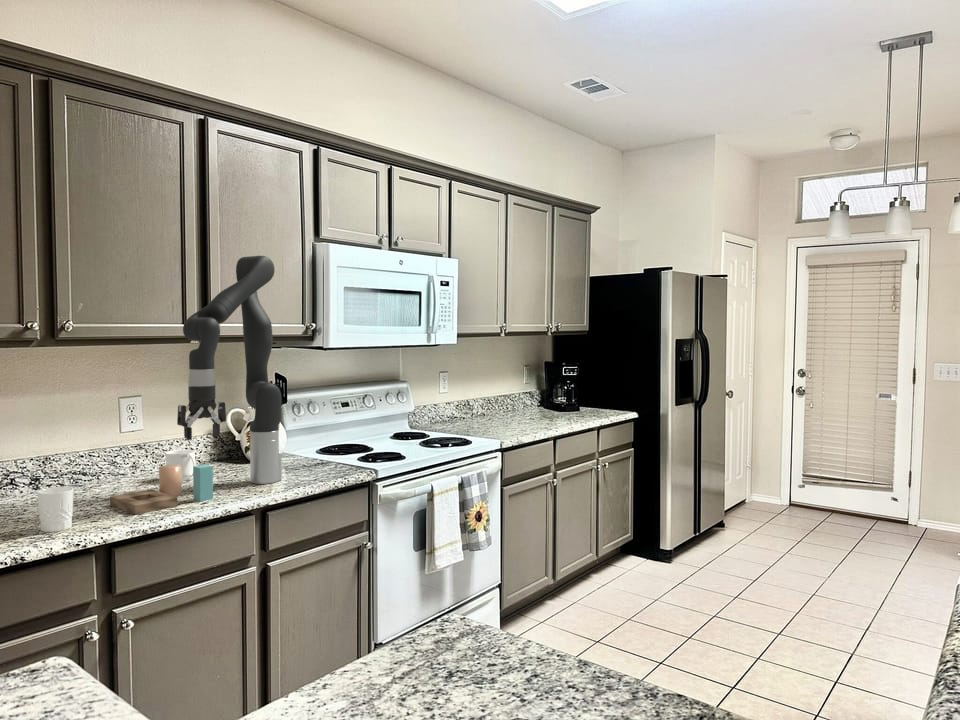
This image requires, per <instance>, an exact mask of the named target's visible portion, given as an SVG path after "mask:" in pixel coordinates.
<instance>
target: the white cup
mask: <svg viewBox="0 0 960 720" xmlns="http://www.w3.org/2000/svg"><path fill="white" fill-rule="evenodd" d="M36 493H37V506H38V516H39V521H40V531H41V532H43V533H55V532H62V531H66V530H70V529H71V528H72V526H73V512H74V487H72V486H55V487H54V486H53V487H47V488H42V489H39V490H37V492H36Z"/></svg>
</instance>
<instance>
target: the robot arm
mask: <svg viewBox="0 0 960 720" xmlns="http://www.w3.org/2000/svg"><path fill="white" fill-rule="evenodd" d="M235 265H236V266H235V274H236V282H235V283H233V284H231V285H230V286H228V287H226V288H225V289H223V290H221V291H220V292H219V293H218V294H217V295H216V296H215V297H214V298H213V299H212V300H211V301H210V302H209V303H208V304H207V305H206V306H204V307H202V308H201V309H199V310H198V311H196V312H195V313H193V314H192V315H190V316H189V317H187V319H186V321H184V324H183V326H182V327H183V328H182V333H183V336H184V337H185V338H186V339H188V340H189V341H192V342H193V341H194V342H199V345H198V347H197V348H195V349H192V350H190V352H189V353H188V354H189V355H188V377H187V379H188V381H187V385H188V392H187V395H188V396H187V397H188V405H185V404H178V406H177V421H176V424H177V426H180V427H183V435H184V438H185V440H186V441H192V440H193V431H192V430H193V427H192V426H193V424H194V422H196V421H197V419H198V420H199V419H204V418H205V419H210V421H211V422H212V437H215V438H216V437H219V436H220V434H221V424H222V423H225V422H226V421H227V412H226V411H227V410H226V403H225V402H224V401H218V402H216V373H215V356H216V355H215V354H216V351H217V348H218V344H219V340H220V337H221V336H220V335H221V328H220V324H223V323H224V322H226V321H227V320H228V319H229V318H230V317H231V315H232V314H233V313H234V312H235V311H236V310H237V309H238V308H239V307H240V306H241V317H242V332H243V334H242V335H243V345H244V346H243V347H244V355H245V356H244V358H245V359H244V360H245V368H246V370H245V371H246V373H245V374H246V375H245V377H246V379H245V400H246V402H247V404H248V406H249V407H251V408H252V409H254V411H255V412H254V419H253V420H252V421H251V422H250V424H249V447H250V448H249V452H250V453H249V457H250V458H249V461H250V462H249V464H250V470H249V472H250V473H249V474H250V483H251V484H258V485H265V484H275V483H277V482H279V481H282V478H283V477H282V474H283V473H282V452H281V451H280V440H279V435H280V434H279V430H280V424H281V421H282V393H281V389H280V388H279V387H278V386H277V385H276V384H273V383H269V376H268V365H269V359H270V356H271V353H272V348H273V342H274V339H273V326H272V325H273V324H272V321H271V319H270V317H269V315H268V314H267V311H265V309H264V308H263V306H262V304H261V301H260V299H259V297H258V291H259V289H261V288H262V287H264V286H265V285H266V284H268V283H269V282H270V281H271V280H272V279H273V278H274V275H275V264H274V262H273V260H272V259H271V258H270V257H268V256H266V255H253V256H241V257H240V258H239V259H238V260H237V262H236V264H235ZM215 409H216V410H217V413H216V412H215ZM188 411H189V414H188V415H187V413H188Z"/></svg>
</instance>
